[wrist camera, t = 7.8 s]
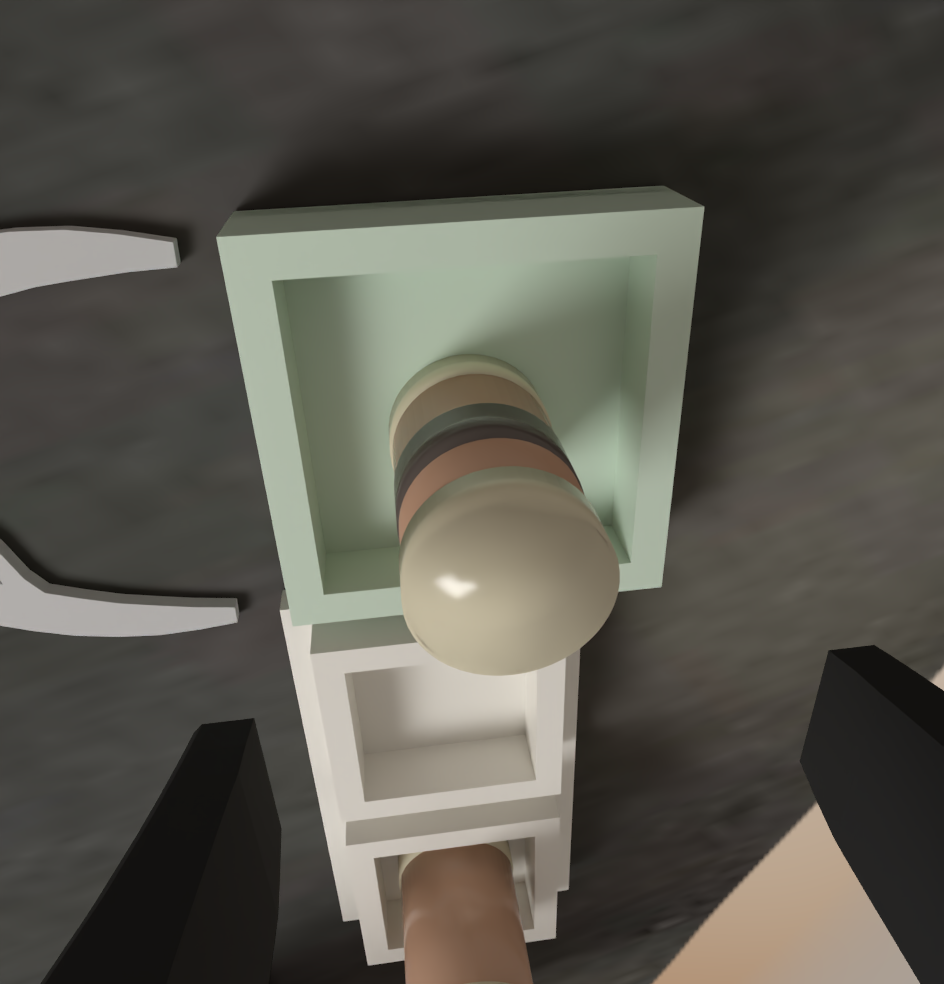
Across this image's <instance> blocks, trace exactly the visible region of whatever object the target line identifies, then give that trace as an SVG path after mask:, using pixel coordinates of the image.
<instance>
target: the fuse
mask: <svg viewBox="0 0 944 984" xmlns="http://www.w3.org/2000/svg"><path fill="white" fill-rule="evenodd" d="M398 873H399V887H400V890H401V900H402V920H403V940H404V960H405V979H406V984H533V981H532V976H531V970H530V965H529V959H528V954H527V948H526V943H525V937H524V932H523V927H522V921H521V916H520V910H519V905H518V899H517V894H516V888H515V883H514V877H513V863H512V858H511V852H510V847H509V841H508V840H506V841H498V842H491V843H483V844H476V845H468V846H461V847H454V848H446V849H439V850H431V851H424V852H416V853H409V854H401V855H398Z"/></svg>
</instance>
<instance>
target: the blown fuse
mask: <svg viewBox="0 0 944 984" xmlns="http://www.w3.org/2000/svg"><path fill="white" fill-rule="evenodd" d="M389 445H390V457H391V463H392V467H393V470H394V497H395V510H396V522H397V533H398V539H399V543H400V550H399V576H400V589H401V602H402V609H403V615H404V618H405V621H406V624H407V626H408V628H409V630H410V632H411V634H412V635H413V637H414V638H415V639H416V641H417V642H418V643H419V645H420V646H421V647H422V648H423V649H424V650H426V651H427V652H428V653H429V654H430V655H432V656H433V657H434V658H436V659H437V660H439V661H441V662H443V663H444V664H446V665H448V666H451V667H453V668H456V669H458V670H461V671H465V672H469V673H473V674H480V675H491V676H504V675H515V674H522V673H527V672H531V671H535V670H539V669H541V668H544V667H547V666H550V665H552V664H554V663H556V662H558V661H560V660H562V659H564V658H566V657H568V656H569V655H571V654H573V653H574V652H576V651H577V650H578V649H580V648H581V647H582V646H583V645H585V644H586V643H587V642H588V641H589V640H590V639H591V638H592V637H593V636H594V635H595V634H596V633H597V632H598V631H599V629H600V628H601V627H602V626H603V624H604V623H605V621H606V620H607V618H608V617H609V615H610V613H611V611H612V609H613V607H614V604H615V601H616V598H617V595H618V590H619V584H620V569H619V563H618V558H617V555H616V552H615V550H614V547H613V545H612V543H611V541H610V539H609V537H608V535H607V533H606V531H605V529H604V527H603V525H602V523H601V521H600V519H599V517H598V515H597V513H596V511H595V509H594V507H593V506H592V504H591V503H590V501H589V500H588V499H587V498H586V496H585V495H584V491H583V489H582V486H581V483H580V481H579V479H578V477H577V475H576V473H575V471H574V468H573V466H572V464H571V462H570V460H569V458H568V456H567V454H566V452H565V450H564V448H563V446H562V444H561V442H560V441H559V439H558V437H557V436H556V435H555V433H554V431H553V429H552V425H551V421H550V419H549V416H548V413H547V411H546V409H545V407H544V405H543V403H542V401H541V399H540V397H539V395H538V393H537V391H536V389H535V387H534V386H533V385H532V383H531V382H530V381H529V379H528V378H527V377H526V376H525V375H524V374H523V373H522V372H521V371H519V370H518V369H517V368H515V367H514V366H512V365H510V364H509V363H507V362H505V361H503V360H500V359H497V358H495V357H491V356H486V355H479V354H462V355H455V356H450V357H447V358H443V359H440V360H438V361H436V362H433V363H431V364H430V365H428V366H426V367H424V368H423V369H421V370H420V371H419V372H417V373H416V374H415V375H414V376H413V377H412V378H411V379H409V380H408V381H407V383H406V384H405V385H404V386H403V388H402V389H401V391H400V392H399V394H398V395H397V397H396V399H395V402H394V404H393V406H392V409H391V413H390V418H389Z"/></svg>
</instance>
